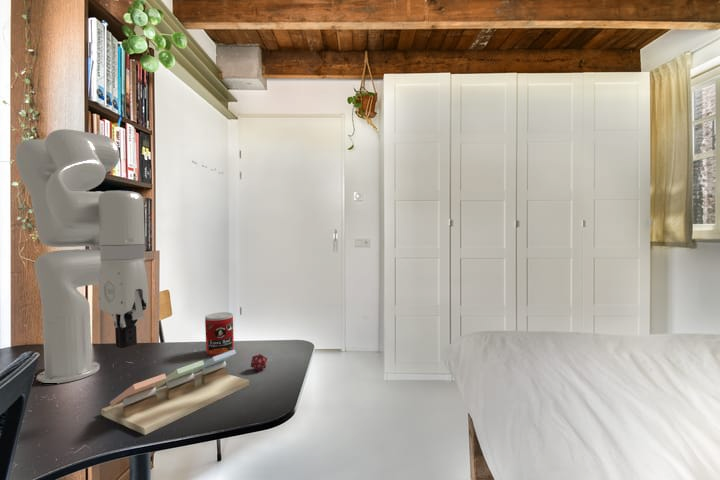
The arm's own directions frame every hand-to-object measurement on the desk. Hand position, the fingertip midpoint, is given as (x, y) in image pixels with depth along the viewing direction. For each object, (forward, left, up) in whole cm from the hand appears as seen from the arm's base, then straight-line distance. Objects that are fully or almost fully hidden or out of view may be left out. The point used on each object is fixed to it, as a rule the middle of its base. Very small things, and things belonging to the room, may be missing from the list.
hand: (126, 345), depth 75 cm
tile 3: (+5, +17, -9) cm, 20 cm away
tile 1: (+5, 0, -9) cm, 10 cm away
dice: (+7, +28, -13) cm, 32 cm away
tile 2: (+5, +8, -9) cm, 13 cm away
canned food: (-14, +33, -13) cm, 38 cm away
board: (+5, +8, -13) cm, 16 cm away
